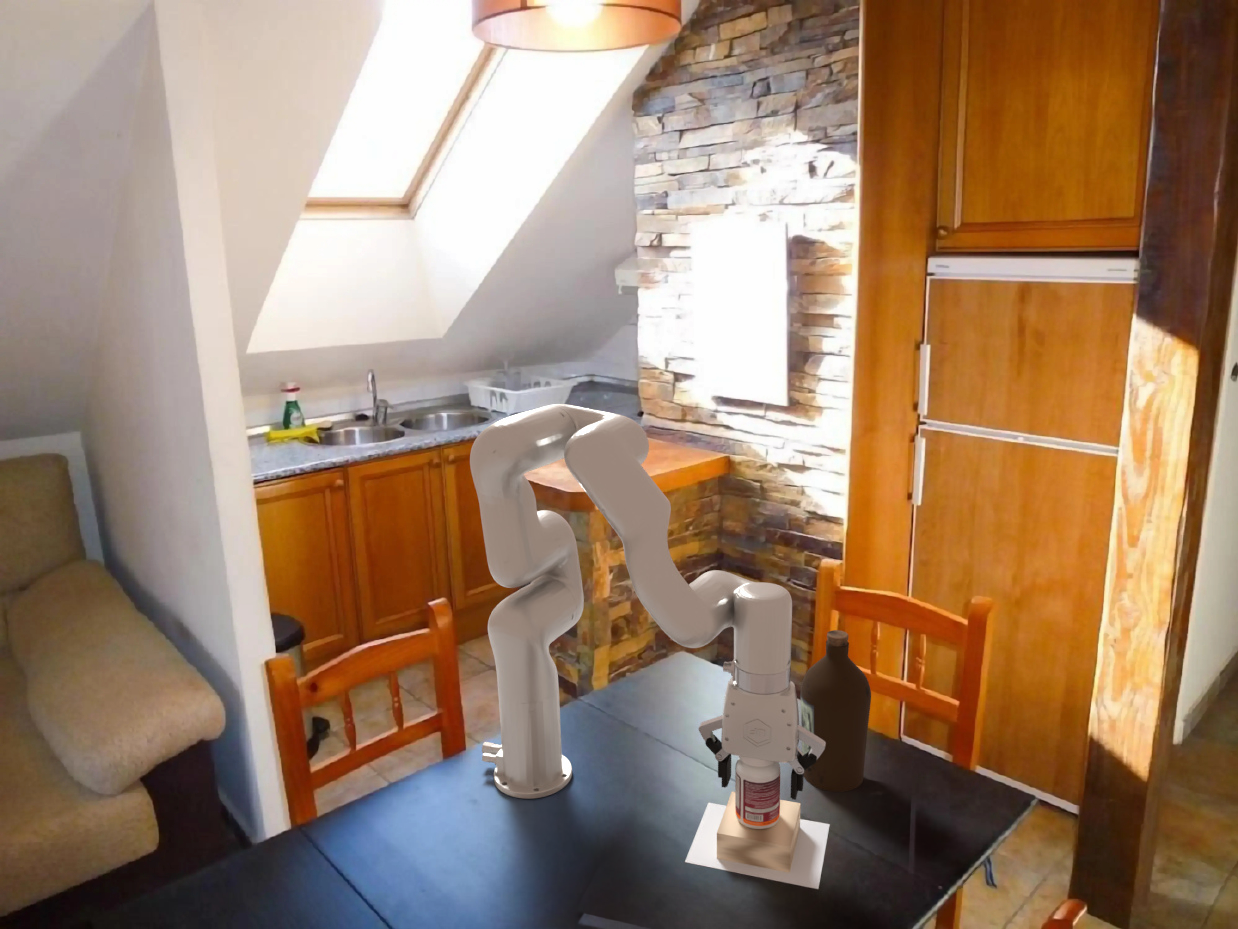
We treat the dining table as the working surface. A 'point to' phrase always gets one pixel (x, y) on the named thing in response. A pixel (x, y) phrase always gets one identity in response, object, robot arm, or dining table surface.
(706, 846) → the white paper sheet
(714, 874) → the dining table surface
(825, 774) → the olive oil
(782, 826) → the birch riser
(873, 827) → the dining table surface
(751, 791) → the pill bottle
